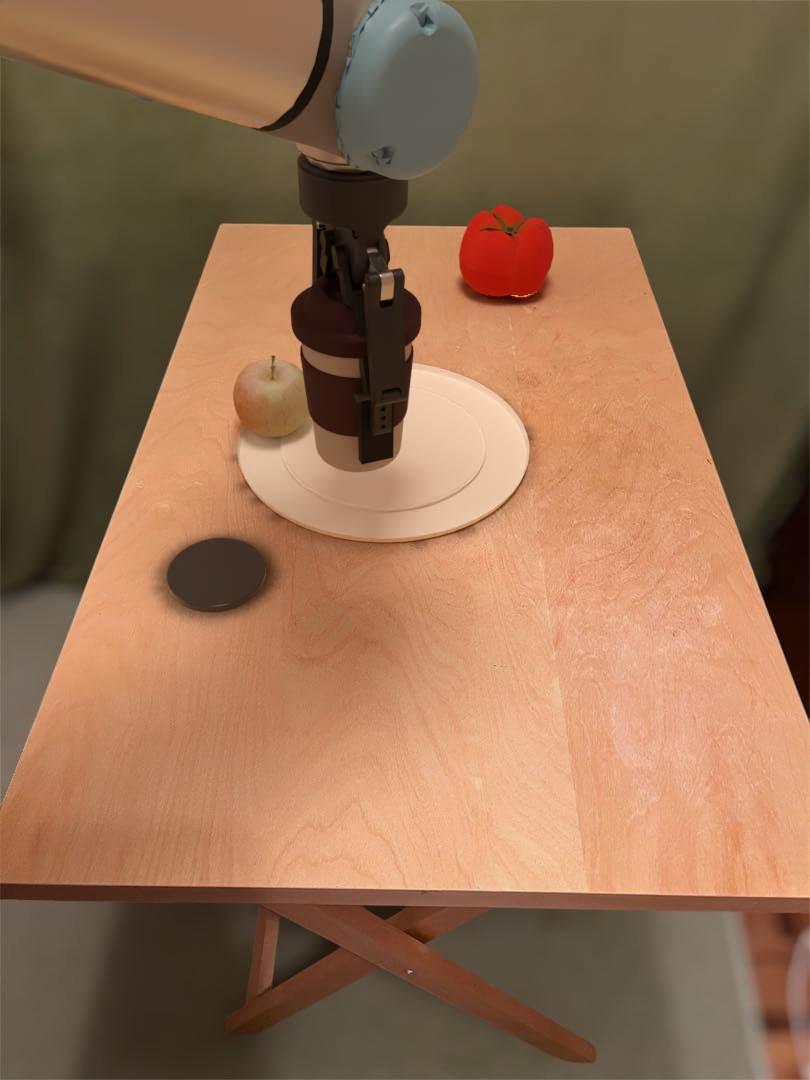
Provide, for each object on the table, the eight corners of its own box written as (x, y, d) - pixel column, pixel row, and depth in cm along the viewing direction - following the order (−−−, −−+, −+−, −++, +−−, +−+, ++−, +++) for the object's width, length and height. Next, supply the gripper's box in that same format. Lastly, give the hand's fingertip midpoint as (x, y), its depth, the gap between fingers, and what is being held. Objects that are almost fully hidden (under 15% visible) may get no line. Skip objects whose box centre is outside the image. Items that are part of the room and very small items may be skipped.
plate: (569, 412, 93) (570, 406, 92) (453, 586, 75) (454, 580, 74) (332, 341, 102) (332, 336, 101) (176, 481, 84) (175, 475, 83)
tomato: (438, 284, 113) (442, 213, 106) (511, 259, 118) (518, 190, 112) (494, 320, 106) (502, 247, 100) (569, 292, 112) (580, 221, 106)
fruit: (270, 397, 93) (263, 328, 88) (327, 422, 91) (324, 352, 85) (220, 434, 89) (210, 363, 83) (279, 461, 86) (272, 389, 80)
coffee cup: (417, 486, 75) (423, 322, 64) (296, 484, 74) (283, 320, 64) (415, 415, 82) (421, 258, 72) (304, 414, 82) (294, 256, 71)
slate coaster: (178, 624, 71) (176, 617, 71) (159, 557, 77) (158, 550, 76) (277, 598, 73) (277, 591, 73) (252, 535, 79) (252, 528, 78)
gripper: (468, 206, 55) (448, 493, 71) (354, 96, 69) (358, 356, 85) (350, 223, 53) (356, 515, 68) (258, 106, 67) (280, 370, 83)
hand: (357, 427), depth 77 cm, fingers closed on coffee cup, 8 cm apart
